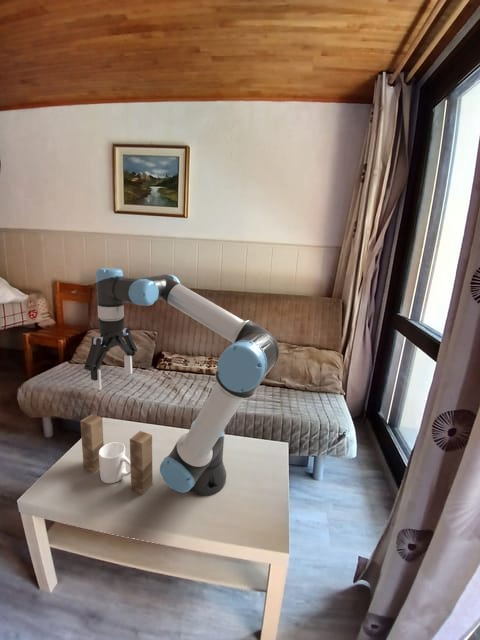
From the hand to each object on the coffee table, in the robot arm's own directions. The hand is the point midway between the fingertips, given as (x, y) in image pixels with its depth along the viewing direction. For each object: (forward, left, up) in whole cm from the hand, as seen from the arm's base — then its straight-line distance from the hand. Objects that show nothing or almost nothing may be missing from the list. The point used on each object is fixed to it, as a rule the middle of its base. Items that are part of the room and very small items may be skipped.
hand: (113, 380), depth 101 cm
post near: (-11, 0, -38) cm, 39 cm away
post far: (+11, 0, -38) cm, 39 cm away
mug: (0, 0, -38) cm, 38 cm away
